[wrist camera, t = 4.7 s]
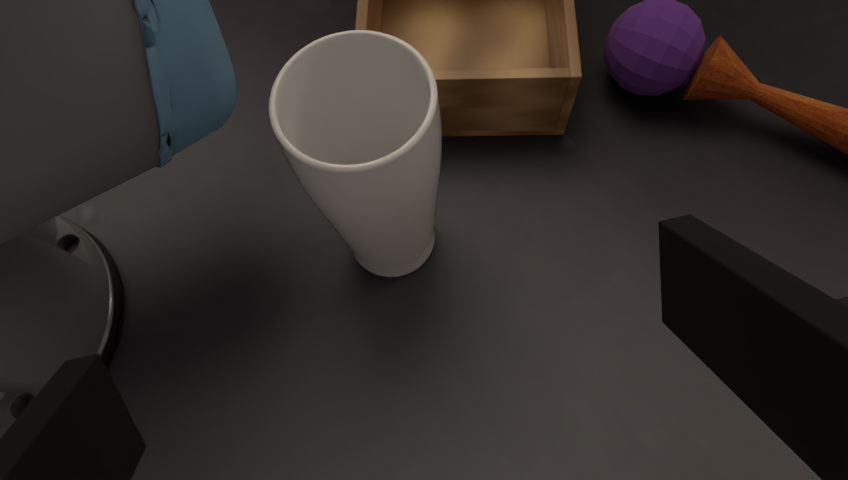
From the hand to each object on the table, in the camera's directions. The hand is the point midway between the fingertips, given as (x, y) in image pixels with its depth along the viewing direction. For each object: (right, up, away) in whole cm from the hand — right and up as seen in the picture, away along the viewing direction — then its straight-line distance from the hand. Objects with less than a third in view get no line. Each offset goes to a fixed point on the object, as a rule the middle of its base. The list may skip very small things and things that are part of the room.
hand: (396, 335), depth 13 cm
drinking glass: (-1, +2, +23) cm, 23 cm away
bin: (+3, +15, +27) cm, 32 cm away
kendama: (+22, +11, +25) cm, 35 cm away
